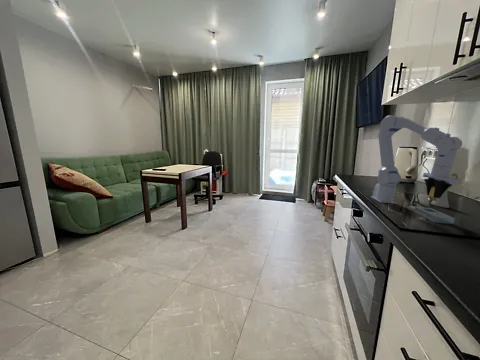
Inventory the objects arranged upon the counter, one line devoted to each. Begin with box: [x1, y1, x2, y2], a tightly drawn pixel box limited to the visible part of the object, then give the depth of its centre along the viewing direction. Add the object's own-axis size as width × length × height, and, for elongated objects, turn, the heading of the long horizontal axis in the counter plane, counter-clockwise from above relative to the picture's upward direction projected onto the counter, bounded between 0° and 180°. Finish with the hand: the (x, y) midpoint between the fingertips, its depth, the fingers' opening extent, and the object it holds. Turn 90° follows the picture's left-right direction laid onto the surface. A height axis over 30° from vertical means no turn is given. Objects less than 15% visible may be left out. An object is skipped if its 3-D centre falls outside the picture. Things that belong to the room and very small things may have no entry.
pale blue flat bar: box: [406, 205, 456, 225], centre depth 89 cm, size 16×7×2 cm, turn 174°
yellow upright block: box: [427, 186, 438, 202], centre depth 87 cm, size 3×3×6 cm
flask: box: [430, 187, 450, 209], centre depth 104 cm, size 7×7×10 cm
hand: (433, 196), depth 88 cm, fingers closed on yellow upright block, 3 cm apart
